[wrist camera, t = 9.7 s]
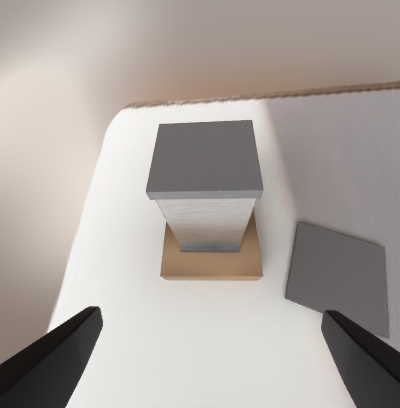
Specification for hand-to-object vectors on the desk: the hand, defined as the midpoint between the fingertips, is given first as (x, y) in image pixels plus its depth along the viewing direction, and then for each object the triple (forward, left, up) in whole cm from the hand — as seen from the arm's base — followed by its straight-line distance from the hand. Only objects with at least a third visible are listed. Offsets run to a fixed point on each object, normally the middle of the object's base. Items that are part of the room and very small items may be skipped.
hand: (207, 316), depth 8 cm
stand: (+5, +5, -11) cm, 14 cm away
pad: (+11, -6, -11) cm, 17 cm away
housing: (+5, +5, -9) cm, 11 cm away
